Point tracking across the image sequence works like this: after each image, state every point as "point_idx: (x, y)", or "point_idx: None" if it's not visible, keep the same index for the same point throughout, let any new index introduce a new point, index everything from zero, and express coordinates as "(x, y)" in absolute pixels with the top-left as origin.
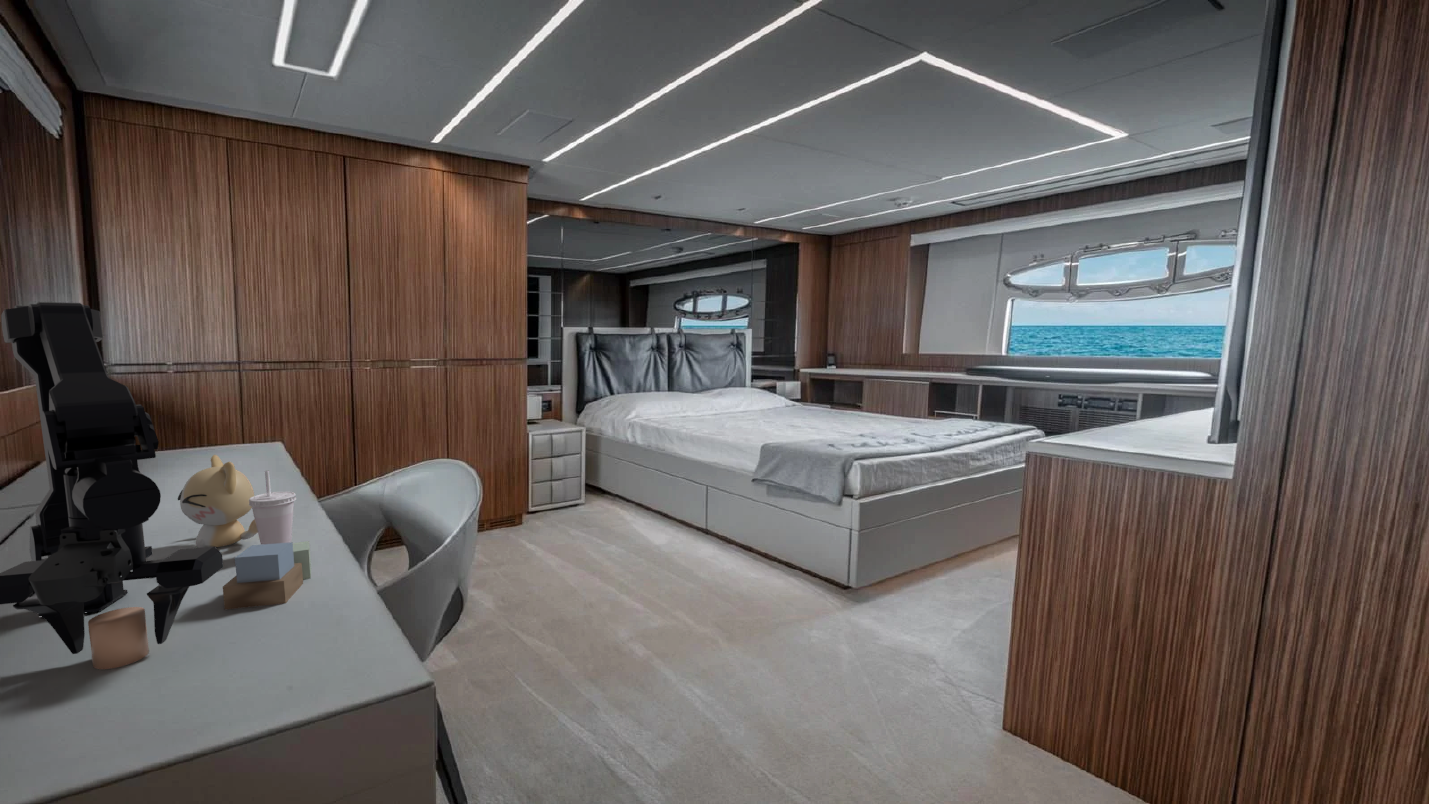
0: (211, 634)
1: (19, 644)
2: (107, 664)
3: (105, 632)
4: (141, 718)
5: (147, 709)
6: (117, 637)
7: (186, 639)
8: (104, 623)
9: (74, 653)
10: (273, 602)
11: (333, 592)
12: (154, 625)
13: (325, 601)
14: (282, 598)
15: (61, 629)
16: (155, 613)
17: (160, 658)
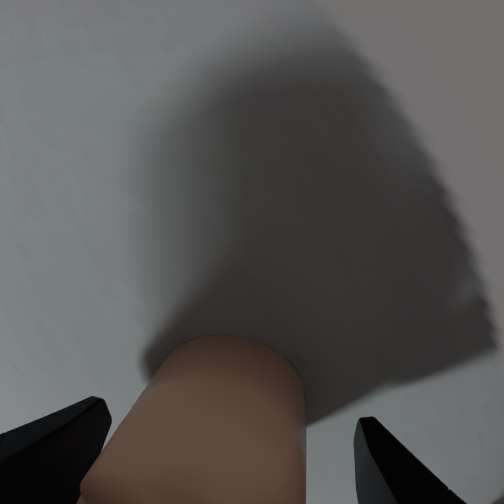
0: None
1: (500, 467)
2: (222, 346)
3: (167, 446)
4: (10, 31)
5: (7, 60)
6: (140, 416)
7: None
8: (167, 498)
9: (366, 417)
10: (82, 498)
11: None
12: (52, 435)
13: None
14: None
15: (420, 495)
16: (5, 454)
17: (104, 354)
